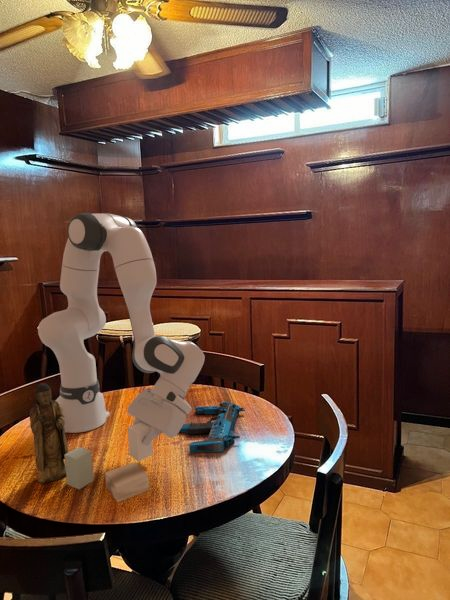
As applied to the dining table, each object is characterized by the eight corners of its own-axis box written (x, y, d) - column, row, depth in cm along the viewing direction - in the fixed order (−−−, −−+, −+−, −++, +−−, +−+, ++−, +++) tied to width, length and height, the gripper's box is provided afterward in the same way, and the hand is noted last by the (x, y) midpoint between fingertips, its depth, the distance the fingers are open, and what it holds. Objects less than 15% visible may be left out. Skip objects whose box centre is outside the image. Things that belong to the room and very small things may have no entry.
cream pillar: (129, 454, 116) (127, 427, 115) (143, 449, 119) (142, 421, 118) (138, 461, 113) (136, 432, 112) (152, 454, 116) (151, 426, 115)
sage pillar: (67, 484, 108) (64, 454, 107) (81, 475, 112) (79, 446, 110) (79, 489, 106) (76, 459, 104) (93, 480, 109) (90, 450, 108)
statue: (27, 488, 107) (16, 392, 103) (45, 468, 116) (35, 379, 112) (63, 488, 106) (53, 391, 103) (78, 468, 115) (69, 378, 112)
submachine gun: (178, 397, 156) (246, 395, 153) (179, 407, 157) (247, 405, 154) (150, 443, 123) (237, 440, 119) (152, 455, 123) (238, 453, 120)
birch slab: (106, 487, 106) (104, 472, 106) (136, 476, 111) (135, 461, 110) (117, 503, 100) (116, 487, 99) (149, 491, 104) (148, 475, 104)
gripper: (139, 381, 126) (111, 423, 121) (182, 399, 111) (151, 448, 106) (153, 391, 129) (126, 432, 124) (196, 411, 115) (167, 458, 110)
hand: (138, 440), depth 115 cm, fingers closed on cream pillar, 4 cm apart
